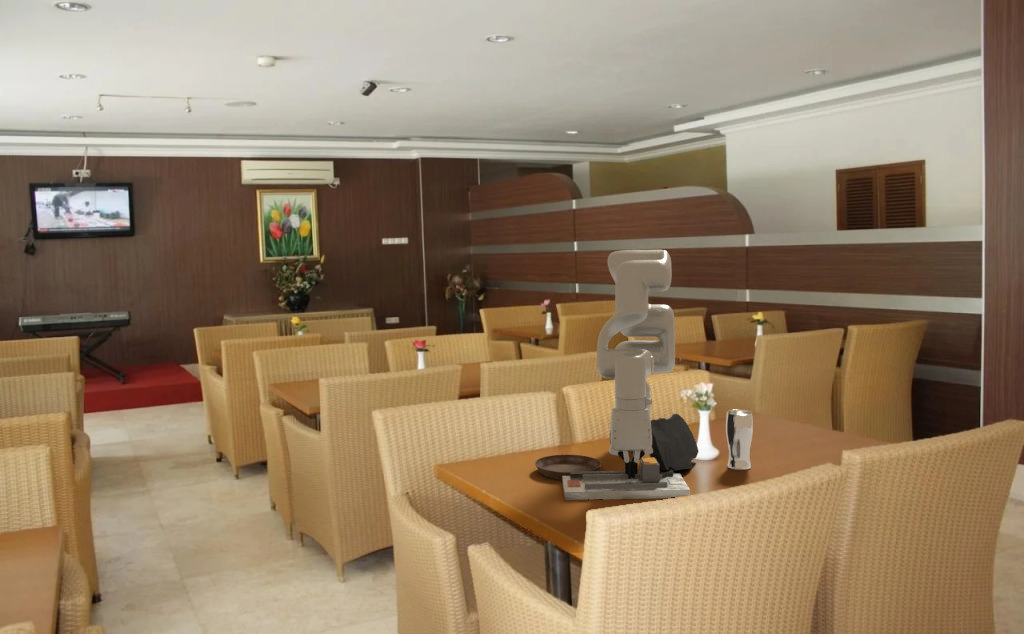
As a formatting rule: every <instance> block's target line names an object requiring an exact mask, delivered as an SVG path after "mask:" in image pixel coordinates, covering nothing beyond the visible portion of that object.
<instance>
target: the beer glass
mask: <svg viewBox="0 0 1024 634" xmlns="http://www.w3.org/2000/svg"><path fill="white" fill-rule="evenodd" d="M753 426H754V424H753V412H752V411H750V410H747V409H731V410H728V411H726V420H725V435H726V440H727V448H728V461H727V468H729V470H734V471H747V470H750V469H751V467H752V466H751V465H752V464H751V459H750V458H751V457H750V450H751V444H752V440H753V429H754V427H753Z"/></svg>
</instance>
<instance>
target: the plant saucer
mask: <svg viewBox="0 0 1024 634" xmlns="http://www.w3.org/2000/svg"><path fill="white" fill-rule="evenodd" d="M534 464H535V465H534V466H535V467H536V468H537V470H538V471H539V472H540V473H541V474H542V475H543V476H545V477H547V478H548V479H549V478H550V479H553V480H559V479H561V480H560V481H562V476H570V472H579V471H600V470H599V469H600V468H601V466H602V462H601V461H600V460H599V459H596V458H594V457H592V456H587V455H581V454H580V455H578V454H554V455H553V454H552V455H547V456H543V457H540V458H538V459H536V460H535V461H534Z"/></svg>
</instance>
